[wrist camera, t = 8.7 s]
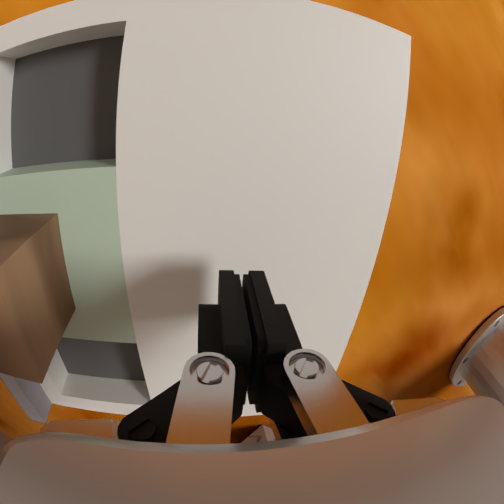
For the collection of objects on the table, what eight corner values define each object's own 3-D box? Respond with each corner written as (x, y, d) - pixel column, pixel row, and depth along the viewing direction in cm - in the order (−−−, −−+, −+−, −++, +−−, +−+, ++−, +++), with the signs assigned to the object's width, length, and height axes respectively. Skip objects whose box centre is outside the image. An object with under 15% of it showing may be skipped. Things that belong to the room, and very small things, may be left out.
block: (57, 213, 10) (-5, 271, 6) (75, 308, 13) (42, 383, 8) (-17, 215, 9) (-79, 263, 5) (5, 300, 12) (-36, 360, 7)
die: (311, 404, 24) (276, 476, 16) (330, 462, 24) (305, 530, 15) (237, 411, 28) (188, 467, 19) (263, 464, 28) (226, 520, 19)
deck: (382, 43, 11) (438, 30, 7) (310, 383, 22) (327, 427, 18) (-14, 49, 7) (-63, 45, 3) (45, 377, 18) (30, 419, 14)
